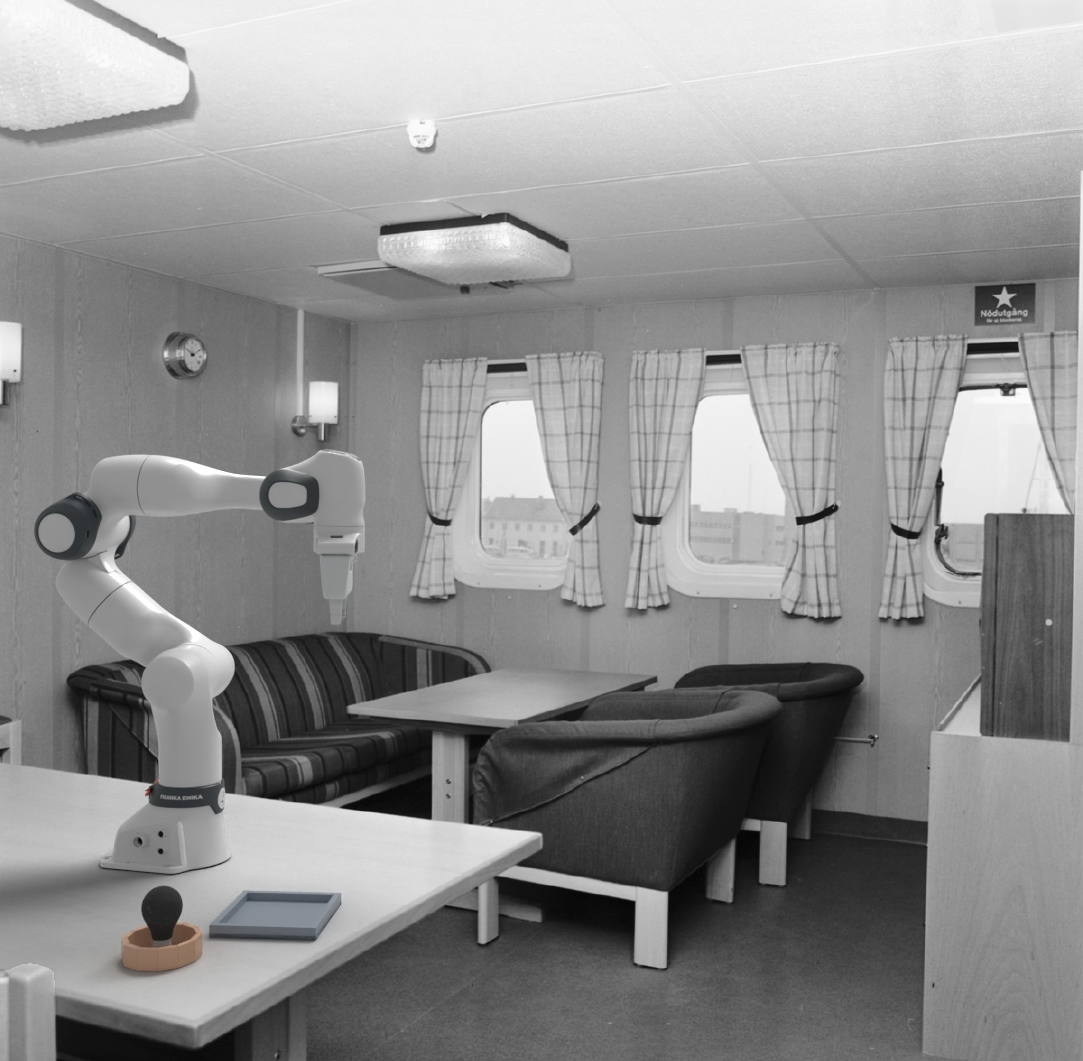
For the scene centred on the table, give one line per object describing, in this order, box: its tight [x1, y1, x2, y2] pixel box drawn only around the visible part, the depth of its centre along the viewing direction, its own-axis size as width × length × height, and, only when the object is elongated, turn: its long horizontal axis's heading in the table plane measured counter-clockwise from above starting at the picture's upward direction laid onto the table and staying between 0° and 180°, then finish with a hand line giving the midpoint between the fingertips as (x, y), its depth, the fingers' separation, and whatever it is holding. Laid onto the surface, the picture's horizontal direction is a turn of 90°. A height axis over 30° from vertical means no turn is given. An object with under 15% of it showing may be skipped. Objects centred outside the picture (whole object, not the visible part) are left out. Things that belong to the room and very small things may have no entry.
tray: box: [208, 889, 342, 941], centre depth 181 cm, size 16×16×2 cm
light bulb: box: [141, 885, 184, 947], centre depth 165 cm, size 6×6×10 cm
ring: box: [120, 922, 203, 972], centre depth 166 cm, size 11×11×3 cm
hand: (338, 622), depth 204 cm, fingers open, 8 cm apart
